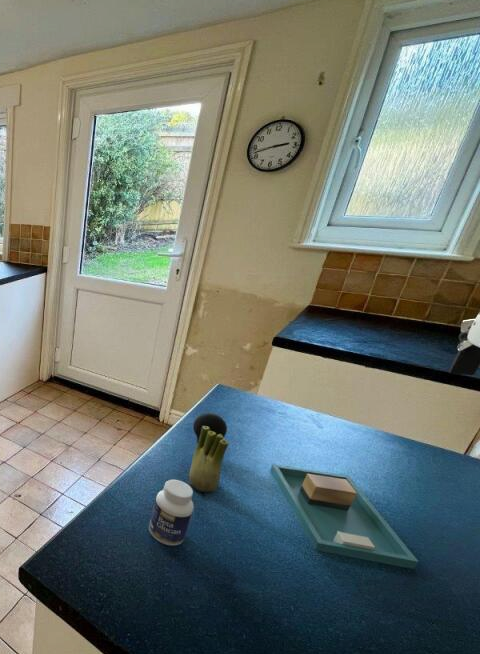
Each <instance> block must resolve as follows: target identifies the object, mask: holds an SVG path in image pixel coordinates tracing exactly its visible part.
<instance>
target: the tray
mask: <svg viewBox="0 0 480 654" xmlns="http://www.w3.org/2000/svg"><path fill="white" fill-rule="evenodd" d="M269 471H270V473H271V475H272V478H273V479H274V480H275V482H276V484H277V486H278V488H279V489H280V491H281V493H282V494H283V496H284V498H285V500H286V501H287V503H288V506H289V507H290V509H291V511H292V512H293V514H294V516H295V517H296V520H297V521H298V523H299V524H300V527H301V529H302V530H303V531H304V533H305V535H306V538H307V539H308V540H309V542H310V544H311V546H312V548H313V549H314V550H315V551H316V552H317V551H318V552H323V553H328V554H334V555H339V556H344V557H350V558H355V559H360V560H364V561H371V562H376V563H380V564H385V565H390V566H397V567H401V568H405V569H406V568H407V569H412V570H414V569H415V568H416V567H417V566H418V564H419V562H420V561H419V560H418V559H417V557H416V556H415V555H414V554H413V552H411V549H409V548H408V547H407V545H406V544H405V543H404V542H403V540H402V539H401V538H400V537H399V535H398V534H397V533H396V532H395V530H394V529H393V528H392V527H391V525H390V524H389V523H388V522H387V521H386V519H385V518H384V516H382V515H381V513H380V512H379V511H378V510H377V508H376V507H375V506H374V504H373V503H372V502H371V501H370V500H369V498H368V497H367V496H366V495H365V494H364V492H363V491H362V490H361V489H360V487H359V486H358V485H357V484H356V482H355V481H354V480H353V479H352V477H351V476H350V475H348V474H347V475H346V474H339V473H333V472H325V471H320V470H313V469H307V468H300V467H294V466H287V465H281V464H273V463H272V464H271V467H270V469H269ZM307 474H313V475H320V476H326V477H333V478H339V479H346V480H347V481H348V482H349V484H350V485H351V486H352V487H353V489H354V490H355V491H356V492H357V495H356V497H355V498H354V500H353V502H352V504H351V505H350V508H349V510H348V511H347V510H341V509H335V508H329V507H323V506H317V505H311V504H308V503H307V501H306V500H305V498H304V497H303V495H302V493H301V492H300V489H301V486H302V484H303V482H304V480H305V477H306V475H307ZM337 532H342V533H348V534H353V535H358V536H364V537H368V538H369V539H370V541H371V542H372V544H373V545H374V546H375V548H374V550H372V549H367V548H362V547H356V546H351V545H345V544H340V543H335V542H334V541H333V539H334V538H335V536H336V534H337Z"/></svg>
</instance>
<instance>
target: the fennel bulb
mask: <svg viewBox="0 0 480 654" xmlns="http://www.w3.org/2000/svg"><path fill="white" fill-rule="evenodd" d="M215 437H216V433H215V432H213V431H210V428H209V427H207V426H202V429H201V433H200V437H199V441H198V443H197V442H196V447H195V450H194V452H193V455H192V459H191V465H190V466H191V467H190V469H189V473H188V479H189V481H188V482H189V486H190V487H191V488H192V489H194V490H196V491H198V492H201V493H213V492H215V491H217V489H218V487H219V483H220V478H221V471H222V463H223V460H224V457H225V453H226V451H227V449H228V446H229V442H228V441H227V440H226V439H225V438H224V437H223V436H222V435H221V434H218V435H217V437H216V439H215Z"/></svg>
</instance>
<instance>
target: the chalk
mask: <svg viewBox="0 0 480 654" xmlns="http://www.w3.org/2000/svg"><path fill="white" fill-rule="evenodd" d="M333 541H334V542H335V543H340V544H345V545H351V546H356V547H362V548H367V549H372V550H374V548H375V546H374V545H373V544H372V542H371V541H370V539H369V538H368V537H364V536H358V535H353V534H348V533H342V532H337V534H336V536H335V538H334V539H333Z"/></svg>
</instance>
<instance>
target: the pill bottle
mask: <svg viewBox="0 0 480 654" xmlns="http://www.w3.org/2000/svg"><path fill="white" fill-rule="evenodd" d="M193 495H194V491H193V488H192V486H191V485H190V484H188V483H186V482H184V481H182V480H179V479H169V480H167V481H165V483H164V486H163V489H162V490H160V491H158V493H157V494H156V497H155V501H154V505H153V508H152V512H151V516H150V520H149V524H148V530H149V533H150V535H151V536H152V537H153V538H154V539H155V540H156V541H157V542H159V543H161V544H163V545H167V546H173V547H174V546H179V545H181V544H182V543H184V540H185V538H186V534H187V531H188V528H189V525H190V521H191V519H192V516H193V513H194V509H195V506H194V502H193V500H192V499H193Z"/></svg>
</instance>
